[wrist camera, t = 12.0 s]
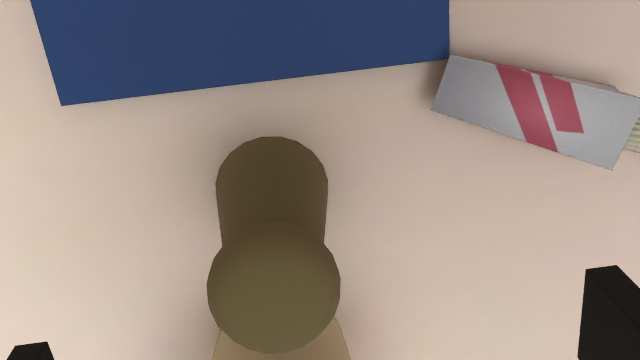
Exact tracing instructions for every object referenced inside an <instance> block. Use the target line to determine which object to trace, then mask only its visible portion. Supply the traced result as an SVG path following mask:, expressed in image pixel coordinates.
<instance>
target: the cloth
mask: <svg viewBox="0 0 640 360" xmlns="http://www.w3.org/2000/svg"><path fill="white" fill-rule="evenodd" d="M30 1H31V5H32V8H33V11H34V15H35V18H36V22H37V25H38V28H39V32H40V35H41V39H42V42H43V45H44V49H45V52H46V56H47V59H48V62H49V66H50V69H51V73H52V76H53V79H54V83H55V86H56V90H57V93H58V96H59V100H60V103H61V106H65V105H73V104H81V103H89V102H98V101H106V100H114V99H122V98H130V97H139V96H147V95H155V94H163V93H172V92H180V91H188V90H196V89H205V88H213V87H221V86H229V85H238V84H246V83H254V82H262V81H271V80H279V79H287V78H295V77H304V76H312V75H320V74H328V73H336V72H345V71H353V70H361V69H369V68H378V67H386V66H394V65H402V64H411V63H419V62H427V61H435V60H444V59H449V57H450V56H449V0H30Z"/></svg>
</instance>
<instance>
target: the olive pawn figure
mask: <svg viewBox="0 0 640 360" xmlns="http://www.w3.org/2000/svg"><path fill="white" fill-rule="evenodd" d="M216 195H217V205H218V214H219V222H220V230H221V239H222V248H221V249H220V251H219V252H218V254H217V255H216V256H215V258H214V259H213V262H212V266H211V269H210V272H209V276H208V280H207V295H208V304H209V308H210V311H211V313H212V315H213V317H214V319H215V321H216V323H217V325H218V327H219V328H220V329H221V330H222V331H223V332H224V333H226V334H227V335H228V336H229V337H230V338H231V339H232V340H233V341H234V342H236V343H238V344H240V345H242V346H243V347H245V348H247V349H249V350H253V351H258V352H263V353H284V352H288V351H291V350H295V349H298V348H301V347H303V346H304V345H306V344H308V343H309V342H311V341H312V340H314V339H315V338H317V337H318V336H319V335H320V334H321V333H322V331H323V330H324V329H325V328H326V327H327V326H328V324H329V323H330V322H331V321H332V319H333V317H334V314H335V312H336V309H337V307H338V304H339V299H340V275H339V271H338V268H337V266H336V263H335V260H334V257H333V255H332V253H331V252H330V251H329V250H328V248H327V247H326V246H325V245H324V235H325V222H326V209H327V196H328V179H327V176H326V174H325V171H324V168H323V165H322V163H321V162H320V161H319V160H318V158H317V157H316V156H315V155H314V153H313V152H312V151H311V150H309V149H308V148H306V147H305V146H303V145H302V144H300V143H299V142H296V141H293V140H289V139H286V138H282V137H261V138H258V139H255V140H252V141H249V142H246V143H244V144H242V145H241V146H239V147H238V148H237V149H235V150H234V151H233V152H231V153H230V154H229V155H228V157H227V158H226V160H225V161H224V163H223V164H222V165H221V167H220V169H219V173H218V176H217V180H216Z"/></svg>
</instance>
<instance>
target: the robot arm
mask: <svg viewBox="0 0 640 360" xmlns="http://www.w3.org/2000/svg"><path fill="white" fill-rule="evenodd" d="M578 359H579V360H640V288H639V287H638V286H637V285H636V284H635V283H634V282H633V281H632V280H631V279H630V278H629V277H628V276H627V275H626V274H625V273H624V272H623V271H622V270H621V269H620V268H619V267H618V266H617V265H614V266H607V267H599V268H592V269H586V273H585V284H584V294H583V305H582V315H581V326H580V336H579V347H578ZM7 360H54V358H53V355H52V353H51V350H50V348H49V345H48V342H40V343H33V344H25V345H18V346H15V347H14V349H13V350H12V352H11V353H10V355H9V357H8V358H7Z"/></svg>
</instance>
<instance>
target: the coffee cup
mask: <svg viewBox="0 0 640 360" xmlns="http://www.w3.org/2000/svg"><path fill="white" fill-rule="evenodd" d="M213 360H351V359H350V356H349V353H348V349H347V346H346V343H345V340H344V337H343V334H342V331H341V329H340V326H339V324H338V323H337V321H336V319H335V318H334V317H333V319H332V321H331V322H330V323H329V324H328V326H327V327H326V328H325V329H324V330H323V331H322V333H321V334H320V335H319V336H318V337H317V338H315V339H314V340H312V341H311V342H309V343H308V344H306V345H304V346H303V347H301V348H298V349H295V350H291V351H288V352H284V353H263V352H258V351H253V350H249V349H247V348H245V347H243V346H242V345H240V344H238V343H236V342H234V341H233V340H232V339H231V338H230V337H229V336H228V335H227V334H226V333H224V332H223V331H222V330H221V331H220V334H219V337H218V340H217V344H216V347H215V351H214V356H213Z"/></svg>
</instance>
